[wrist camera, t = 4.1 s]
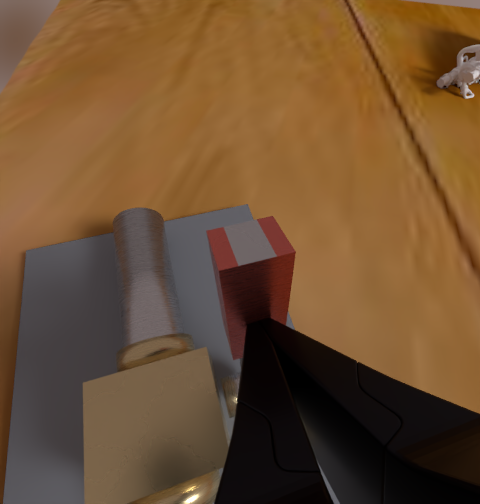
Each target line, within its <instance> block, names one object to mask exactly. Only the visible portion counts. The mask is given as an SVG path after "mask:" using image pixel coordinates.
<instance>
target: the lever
mask: <svg viewBox="0 0 480 504" xmlns="http://www.w3.org/2000/svg"><path fill="white" fill-rule="evenodd" d="M206 232H207V238H208V243H209V249H210V254H211V259H212V265H213V270H214V276H215V281H216V287H217V292H218V298H219V303H220V309H221V314H222V319H223V325H224V328H225V332H226V336H227V339H228V343H229V347H230V350H231V354H232V358H233V360H236V359H240V365H242V357H243V350H244V342H245V334H246V326H247V324H250V323H254V322H260V321H261V320H264V319H268V318H272V319H274V320H276V321H278V322H280V323H282V324H284V325H286V322H287V314H288V307H289V299H290V291H291V284H292V276H293V268H294V260H295V253H296V252H295V250H294V249H293V247H292V245H291V244H290V242H289V241H288V239H287V238H286V236H285V234H284V233H283V231H282V230H281V228H280V227H279V225H278V224H277V222H276V220H275V219H274V217H273V216H271V217H266V218H262V219H257V220H253V221H248V222H243V223H239V224H234V225H230V226H225V227H221V228H216V229H212V230H207V231H206ZM240 373H241V372H239V373H235V374H232V375H229V376H226V377H223V378H220V379H221V384H222V389H223V393H224V397H225V402H226V406H227V410H228V414H229V418H233V417H235V412H236V404H237V397H238V389H239V381H240Z"/></svg>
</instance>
